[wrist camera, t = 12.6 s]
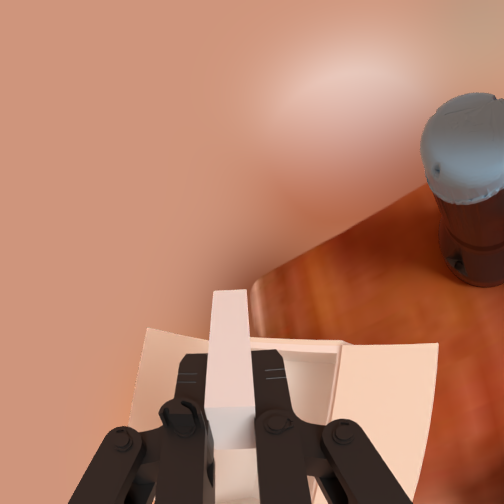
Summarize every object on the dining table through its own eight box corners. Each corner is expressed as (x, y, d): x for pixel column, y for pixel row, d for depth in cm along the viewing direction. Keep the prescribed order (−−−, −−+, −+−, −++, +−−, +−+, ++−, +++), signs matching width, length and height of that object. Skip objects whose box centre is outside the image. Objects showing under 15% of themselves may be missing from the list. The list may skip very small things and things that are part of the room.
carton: (276, 352, 54) (212, 333, 44) (452, 354, 35) (438, 336, 24) (249, 500, 43) (179, 514, 33) (411, 545, 24) (372, 598, 13)
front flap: (210, 340, 44) (211, 341, 45) (147, 327, 45) (148, 327, 46) (180, 508, 34) (181, 507, 34) (119, 487, 35) (121, 486, 36)
